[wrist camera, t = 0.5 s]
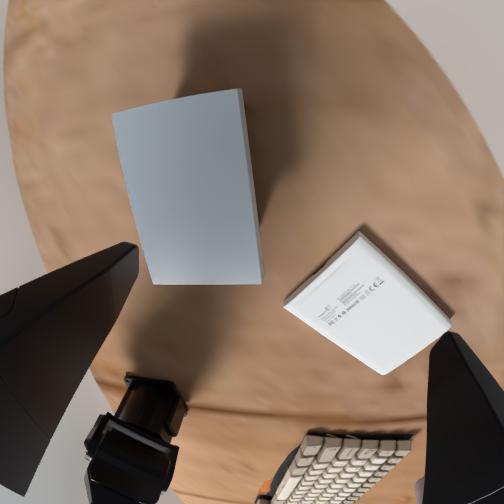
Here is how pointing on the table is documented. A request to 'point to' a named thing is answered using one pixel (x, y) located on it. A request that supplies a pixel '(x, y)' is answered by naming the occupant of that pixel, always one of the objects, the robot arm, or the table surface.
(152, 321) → the table surface
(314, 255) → the table surface
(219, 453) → the table surface
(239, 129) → the lid
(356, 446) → the mechanical keyboard
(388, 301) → the external hard drive
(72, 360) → the robot arm
